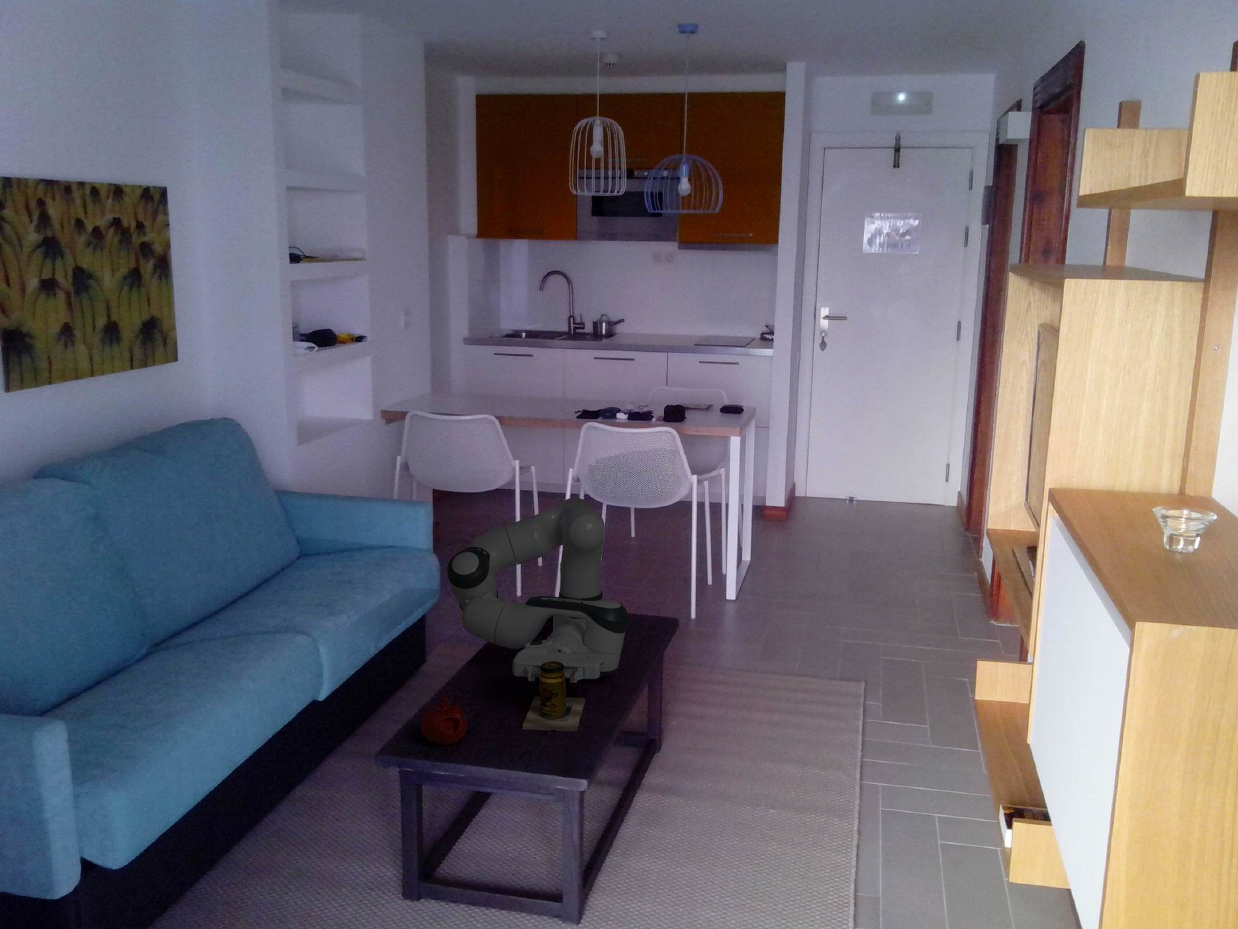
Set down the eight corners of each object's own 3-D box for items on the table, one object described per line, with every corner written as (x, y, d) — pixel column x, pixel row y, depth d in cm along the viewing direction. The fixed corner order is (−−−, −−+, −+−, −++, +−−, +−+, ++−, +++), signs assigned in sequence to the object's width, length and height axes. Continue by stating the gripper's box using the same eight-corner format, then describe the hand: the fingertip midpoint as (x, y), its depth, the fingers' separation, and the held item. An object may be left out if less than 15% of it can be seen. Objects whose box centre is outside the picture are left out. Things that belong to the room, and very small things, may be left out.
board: (534, 700, 248) (534, 696, 247) (585, 702, 247) (585, 698, 246) (522, 729, 232) (522, 725, 232) (576, 731, 231) (576, 727, 231)
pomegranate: (412, 744, 225) (410, 704, 224) (440, 726, 234) (437, 686, 232) (451, 752, 221) (448, 711, 219) (477, 733, 230) (475, 693, 228)
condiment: (535, 720, 234) (534, 669, 232) (542, 705, 243) (541, 655, 240) (567, 721, 234) (566, 671, 231) (573, 706, 242) (572, 657, 240)
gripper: (604, 670, 248) (598, 693, 234) (519, 667, 250) (508, 690, 236) (604, 645, 247) (598, 667, 233) (519, 642, 248) (507, 664, 235)
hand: (552, 679), depth 235 cm, fingers open, 8 cm apart
